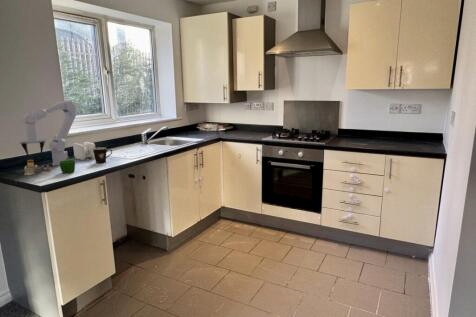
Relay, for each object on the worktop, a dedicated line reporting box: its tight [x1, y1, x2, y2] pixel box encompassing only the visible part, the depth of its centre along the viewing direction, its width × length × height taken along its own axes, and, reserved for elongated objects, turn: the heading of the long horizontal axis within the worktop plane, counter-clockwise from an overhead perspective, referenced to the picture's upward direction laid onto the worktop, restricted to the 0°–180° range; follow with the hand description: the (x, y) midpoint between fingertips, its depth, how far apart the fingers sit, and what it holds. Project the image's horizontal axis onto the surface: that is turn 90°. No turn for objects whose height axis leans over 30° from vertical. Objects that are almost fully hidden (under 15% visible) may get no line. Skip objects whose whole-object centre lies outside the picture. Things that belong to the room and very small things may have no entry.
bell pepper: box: [59, 156, 76, 175], centre depth 196 cm, size 8×8×10 cm
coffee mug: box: [93, 146, 113, 165], centre depth 224 cm, size 12×9×10 cm
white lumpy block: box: [72, 141, 96, 161], centre depth 237 cm, size 15×11×12 cm
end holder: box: [24, 164, 38, 174], centre depth 199 cm, size 6×6×3 cm
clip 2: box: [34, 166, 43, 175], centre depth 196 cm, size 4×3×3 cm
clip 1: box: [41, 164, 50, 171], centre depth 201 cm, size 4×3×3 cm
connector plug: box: [26, 159, 35, 168], centre depth 199 cm, size 3×3×7 cm
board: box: [23, 166, 53, 176], centre depth 201 cm, size 14×15×1 cm
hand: (34, 154), depth 206 cm, fingers open, 7 cm apart
